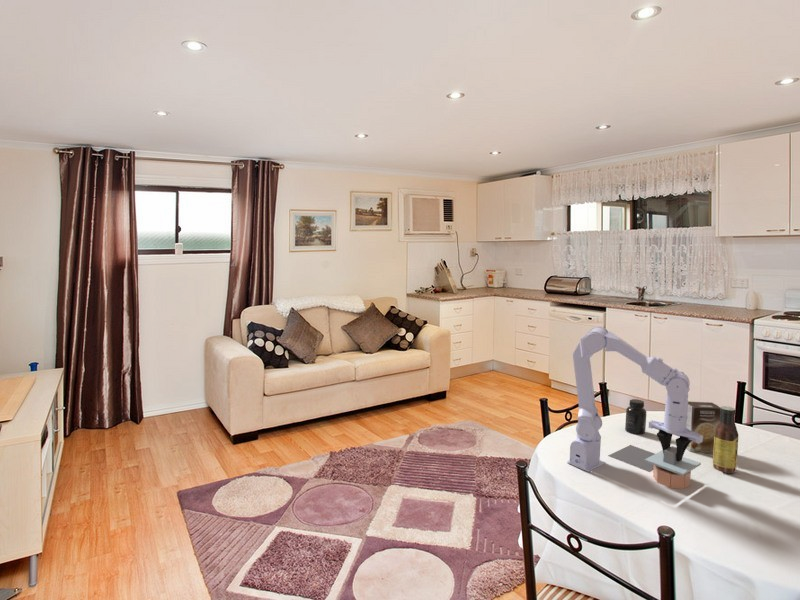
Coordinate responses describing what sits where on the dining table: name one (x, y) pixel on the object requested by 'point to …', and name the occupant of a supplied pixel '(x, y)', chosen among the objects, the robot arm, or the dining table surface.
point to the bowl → (671, 478)
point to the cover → (672, 461)
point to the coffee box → (702, 425)
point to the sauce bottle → (726, 441)
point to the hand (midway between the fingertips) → (672, 458)
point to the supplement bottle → (636, 417)
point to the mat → (634, 457)
